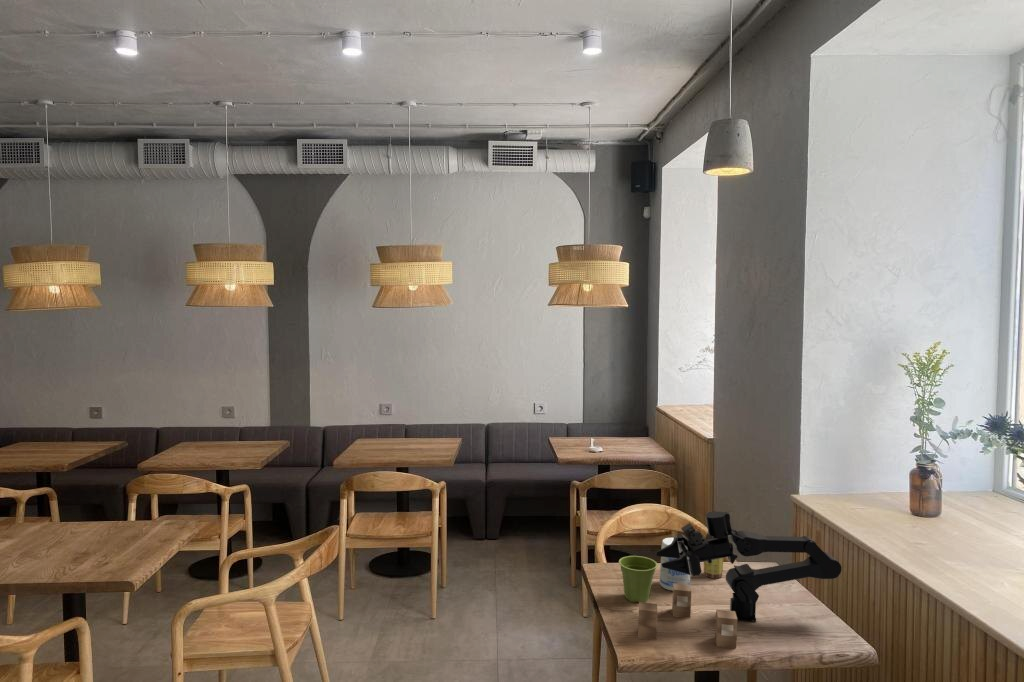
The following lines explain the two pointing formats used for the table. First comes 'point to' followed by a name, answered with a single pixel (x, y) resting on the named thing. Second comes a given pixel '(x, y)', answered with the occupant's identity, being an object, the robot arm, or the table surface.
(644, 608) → the plain block
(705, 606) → the table surface
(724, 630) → the marked block
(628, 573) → the plant pot
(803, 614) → the table surface
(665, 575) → the supplement tub
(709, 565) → the sauce bottle
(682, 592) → the marked block
